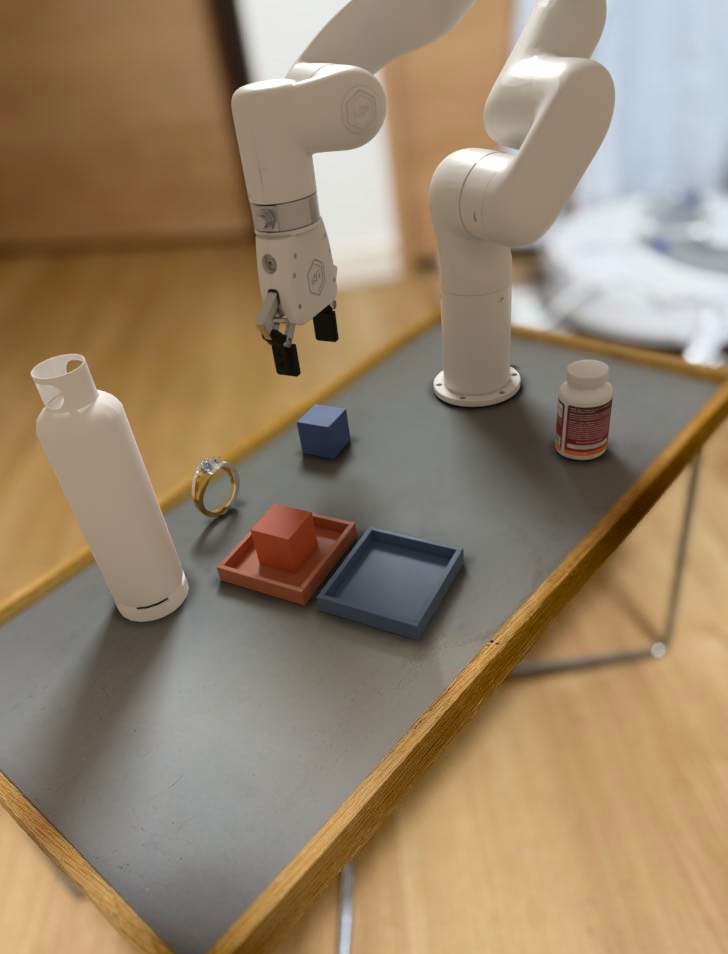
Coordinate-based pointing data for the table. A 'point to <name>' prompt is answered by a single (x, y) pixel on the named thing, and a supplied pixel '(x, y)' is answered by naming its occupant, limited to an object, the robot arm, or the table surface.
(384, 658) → the table surface
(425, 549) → the blue tray
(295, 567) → the terracotta block
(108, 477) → the bottle
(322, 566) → the terracotta tray
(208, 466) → the ring
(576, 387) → the pill bottle
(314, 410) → the blue block
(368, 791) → the table surface
